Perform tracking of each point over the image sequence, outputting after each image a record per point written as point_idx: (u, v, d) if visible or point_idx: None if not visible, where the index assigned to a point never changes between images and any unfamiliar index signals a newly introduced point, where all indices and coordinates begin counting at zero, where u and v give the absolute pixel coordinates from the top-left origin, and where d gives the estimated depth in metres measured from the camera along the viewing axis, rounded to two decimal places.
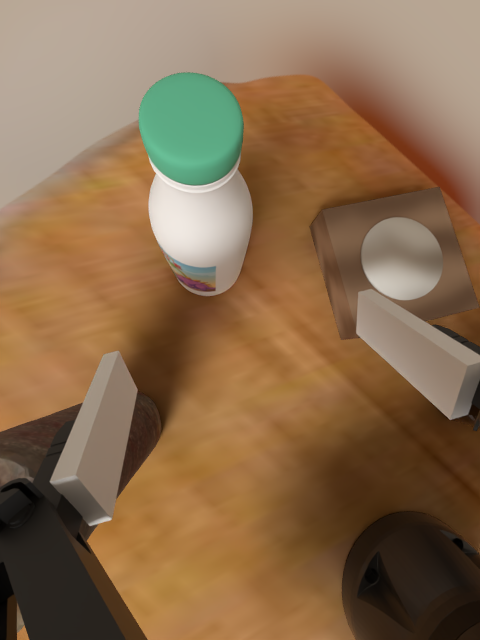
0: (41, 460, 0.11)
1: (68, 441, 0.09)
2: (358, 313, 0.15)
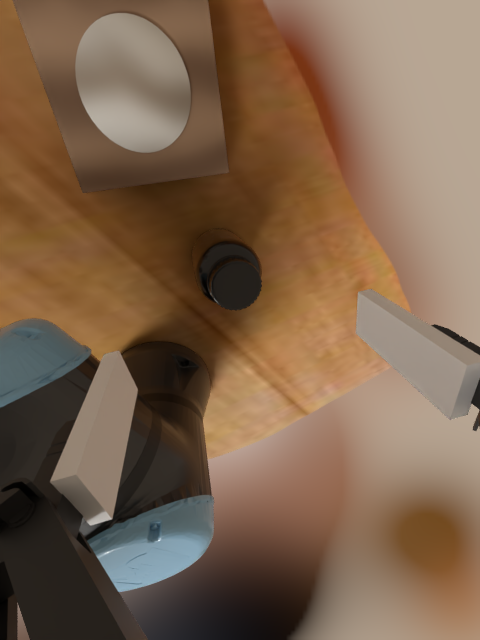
0: None
1: (68, 441, 0.09)
2: (358, 313, 0.15)
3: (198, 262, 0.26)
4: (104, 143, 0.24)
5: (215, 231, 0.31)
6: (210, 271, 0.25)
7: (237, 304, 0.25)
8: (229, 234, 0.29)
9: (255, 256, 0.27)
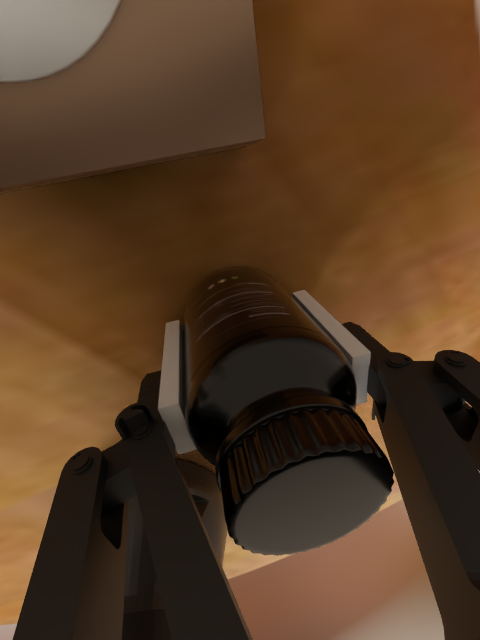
0: None
1: (161, 383, 0.11)
2: None
3: (190, 395, 0.09)
4: None
5: (231, 280, 0.14)
6: (225, 452, 0.08)
7: (312, 541, 0.08)
8: (265, 293, 0.12)
9: (348, 369, 0.10)
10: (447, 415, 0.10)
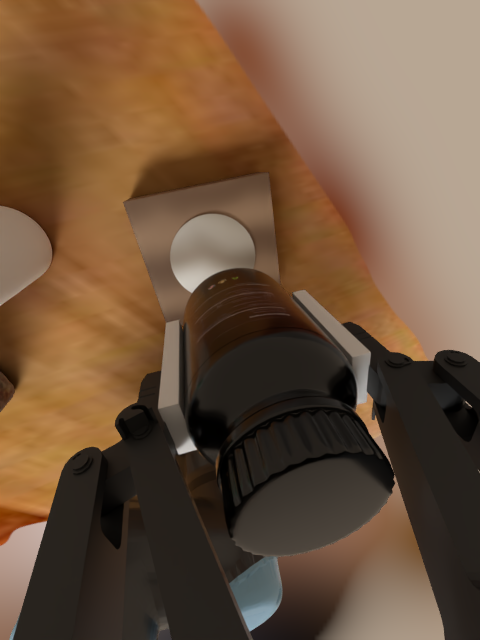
0: None
1: (161, 382, 0.11)
2: None
3: (190, 396, 0.09)
4: (187, 295, 0.31)
5: (231, 280, 0.14)
6: (226, 454, 0.08)
7: (312, 543, 0.08)
8: (266, 293, 0.12)
9: (348, 370, 0.10)
10: (447, 415, 0.10)
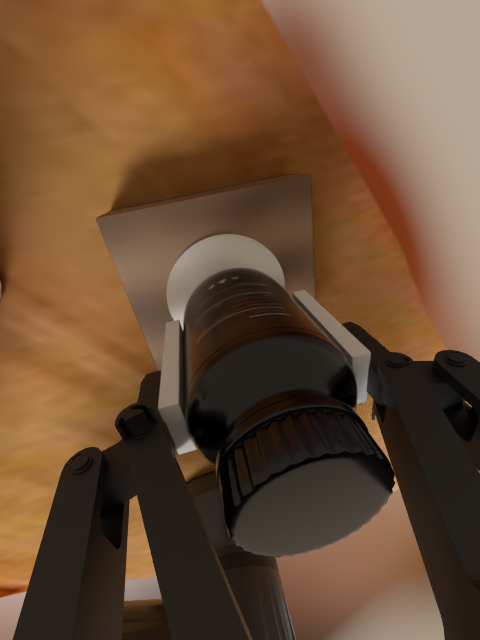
0: None
1: (162, 383, 0.11)
2: None
3: (190, 396, 0.09)
4: None
5: (231, 280, 0.14)
6: (226, 454, 0.08)
7: (312, 543, 0.08)
8: (266, 293, 0.12)
9: (348, 370, 0.10)
10: (447, 415, 0.10)
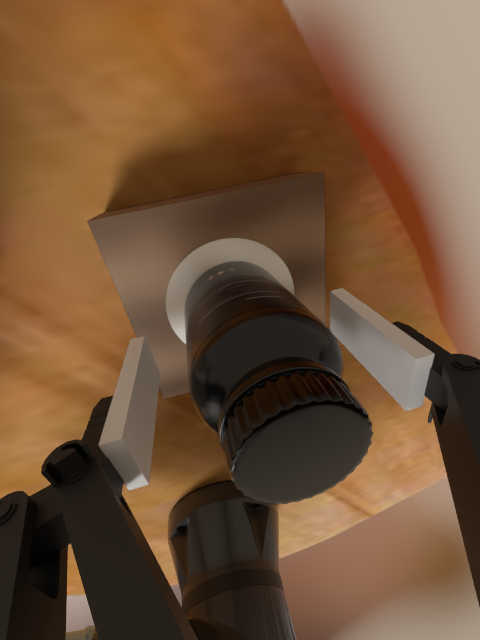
0: None
1: (110, 412, 0.10)
2: (331, 311, 0.16)
3: (194, 368, 0.11)
4: None
5: (228, 271, 0.15)
6: (227, 411, 0.09)
7: (304, 491, 0.09)
8: (260, 281, 0.13)
9: (334, 343, 0.11)
10: None
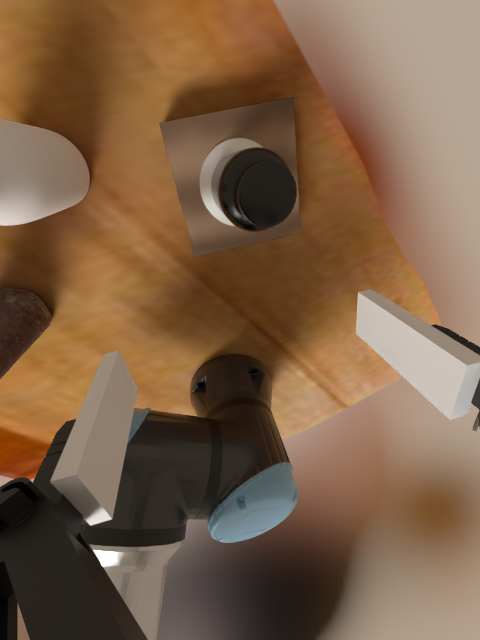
0: None
1: (68, 441, 0.09)
2: (358, 313, 0.15)
3: (221, 176, 0.23)
4: (213, 222, 0.33)
5: None
6: (236, 180, 0.21)
7: (268, 219, 0.22)
8: None
9: (287, 166, 0.23)
10: None
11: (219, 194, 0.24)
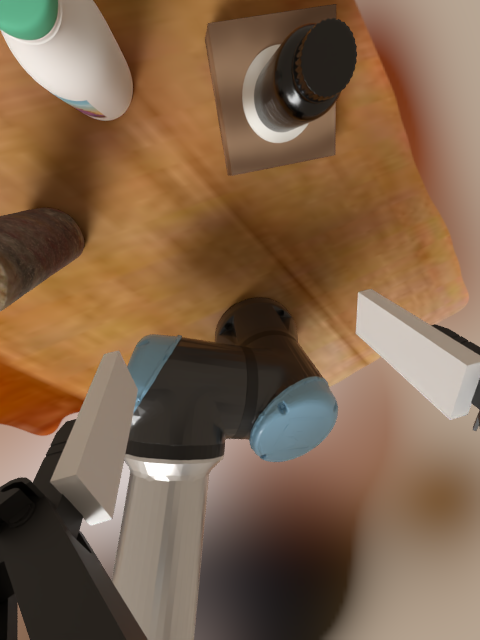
0: None
1: (68, 441, 0.09)
2: (358, 313, 0.15)
3: (278, 53, 0.23)
4: (252, 137, 0.33)
5: None
6: (297, 47, 0.22)
7: (327, 87, 0.22)
8: None
9: None
10: None
11: (274, 73, 0.24)
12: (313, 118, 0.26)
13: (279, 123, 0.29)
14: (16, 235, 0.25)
